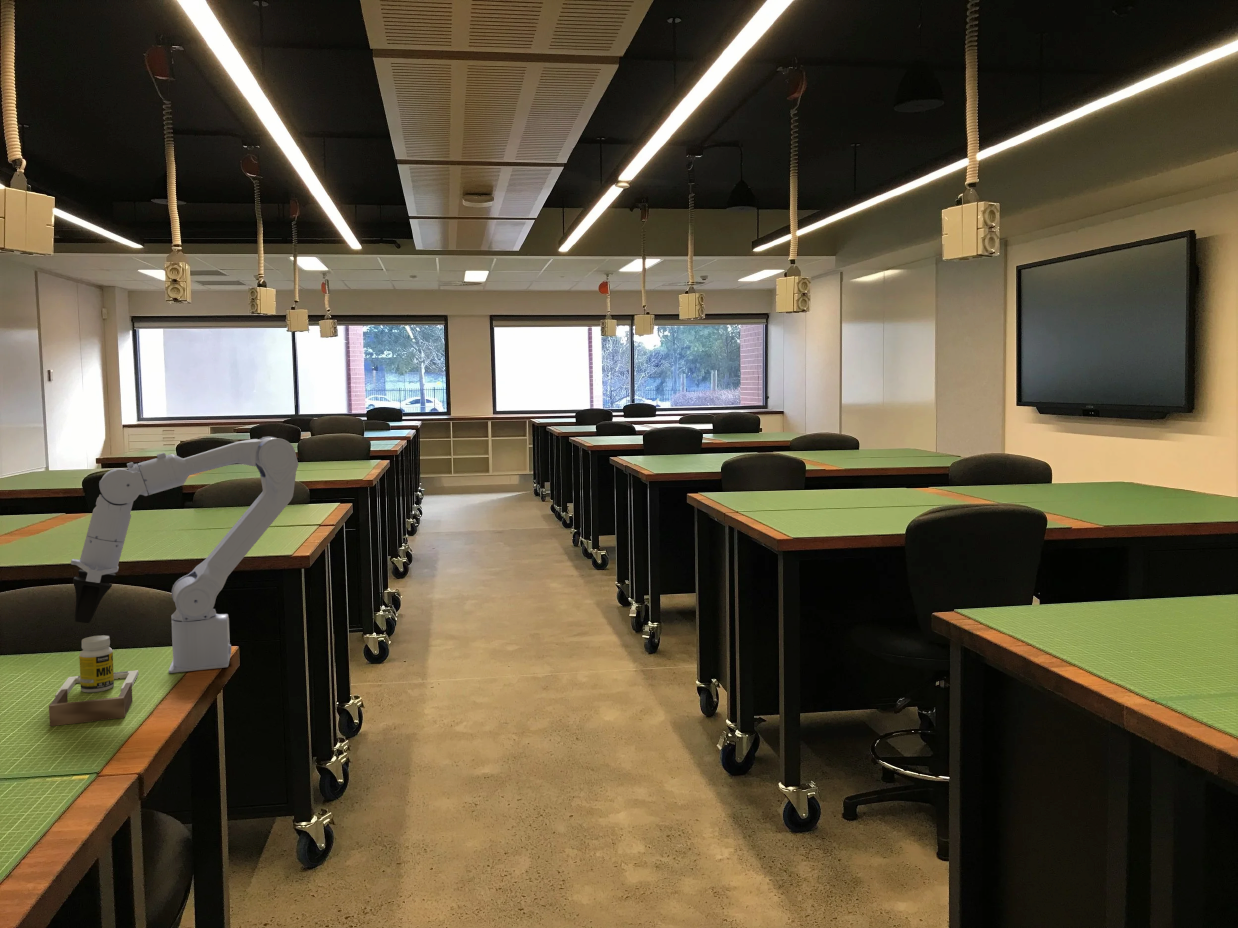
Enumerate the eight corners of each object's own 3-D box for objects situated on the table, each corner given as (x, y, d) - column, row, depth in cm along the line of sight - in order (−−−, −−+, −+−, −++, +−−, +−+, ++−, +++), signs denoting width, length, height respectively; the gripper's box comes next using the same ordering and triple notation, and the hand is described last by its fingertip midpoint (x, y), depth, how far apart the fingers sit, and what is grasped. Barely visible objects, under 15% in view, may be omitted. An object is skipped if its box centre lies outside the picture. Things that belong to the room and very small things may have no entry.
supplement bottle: (98, 694, 144) (96, 642, 143) (73, 692, 144) (71, 641, 144) (121, 684, 148) (118, 635, 148) (96, 682, 149) (94, 633, 149)
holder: (132, 700, 140) (131, 682, 140) (124, 717, 133) (123, 697, 133) (62, 708, 137) (61, 689, 137) (49, 726, 130) (48, 705, 129)
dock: (138, 674, 154) (138, 669, 153) (129, 691, 144) (129, 686, 144) (68, 681, 150) (68, 676, 150) (55, 699, 141) (55, 694, 141)
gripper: (82, 528, 155) (61, 605, 154) (74, 539, 142) (51, 622, 141) (127, 536, 158) (107, 611, 157) (123, 547, 145) (101, 629, 144)
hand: (84, 617), depth 150 cm, fingers open, 7 cm apart
